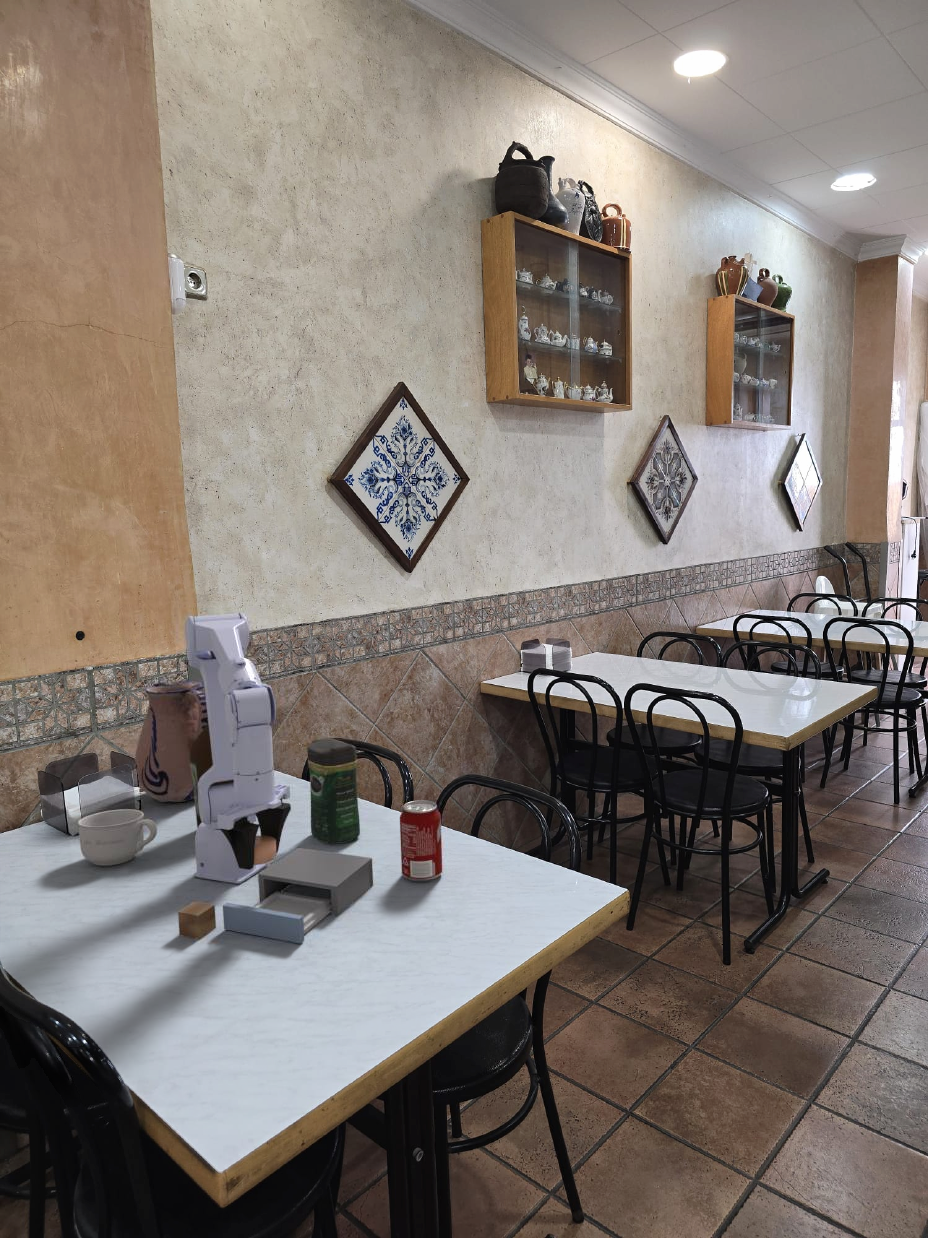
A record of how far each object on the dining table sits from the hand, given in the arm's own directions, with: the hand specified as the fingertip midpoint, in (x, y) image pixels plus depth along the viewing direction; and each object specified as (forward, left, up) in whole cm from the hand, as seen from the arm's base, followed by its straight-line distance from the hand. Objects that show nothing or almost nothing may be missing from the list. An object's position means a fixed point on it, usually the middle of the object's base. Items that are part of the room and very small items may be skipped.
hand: (258, 860), depth 121 cm
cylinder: (0, 0, 0) cm, 0 cm away
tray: (+3, +2, -9) cm, 10 cm away
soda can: (+16, +23, -10) cm, 29 cm away
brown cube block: (-7, -5, -10) cm, 13 cm away
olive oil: (-30, +30, -10) cm, 43 cm away
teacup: (-38, +12, -10) cm, 41 cm away
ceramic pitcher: (-51, +44, -10) cm, 68 cm away
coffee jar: (-7, +34, -10) cm, 36 cm away
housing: (+3, +11, -10) cm, 15 cm away
